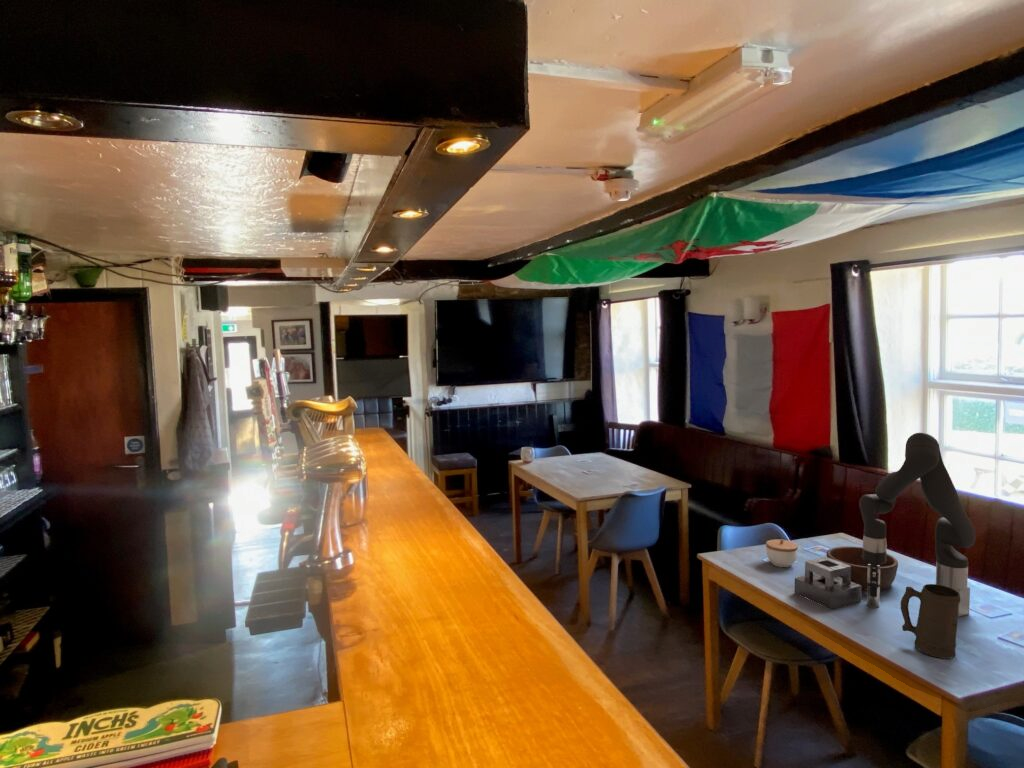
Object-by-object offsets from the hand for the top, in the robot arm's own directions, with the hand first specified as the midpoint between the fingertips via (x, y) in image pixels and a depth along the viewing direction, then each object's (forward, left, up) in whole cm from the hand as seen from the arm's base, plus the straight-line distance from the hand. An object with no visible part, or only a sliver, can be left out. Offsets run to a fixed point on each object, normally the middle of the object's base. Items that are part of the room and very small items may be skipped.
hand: (873, 593), depth 227 cm
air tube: (0, 0, -4) cm, 4 cm away
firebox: (+12, +9, -4) cm, 16 cm away
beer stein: (-29, +14, -5) cm, 32 cm away
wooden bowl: (+17, -16, -5) cm, 24 cm away
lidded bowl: (+44, -2, -5) cm, 44 cm away
